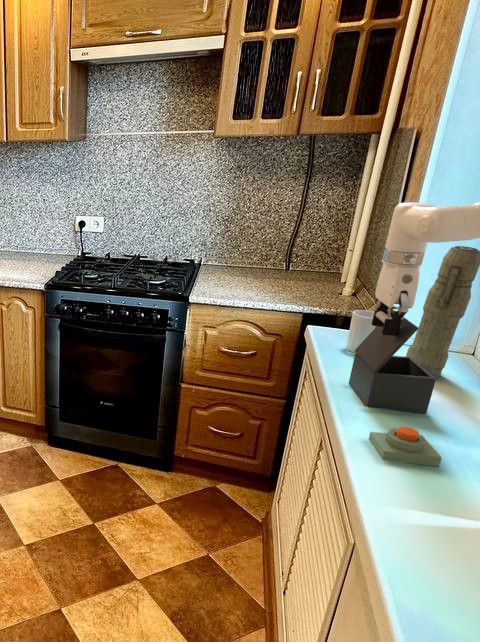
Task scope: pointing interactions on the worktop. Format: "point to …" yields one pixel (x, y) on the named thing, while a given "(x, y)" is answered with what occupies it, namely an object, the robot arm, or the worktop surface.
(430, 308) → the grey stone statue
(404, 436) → the button
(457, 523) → the worktop surface
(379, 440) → the block
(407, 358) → the dark grey lidded box
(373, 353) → the box lid
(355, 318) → the cup
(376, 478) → the worktop surface
